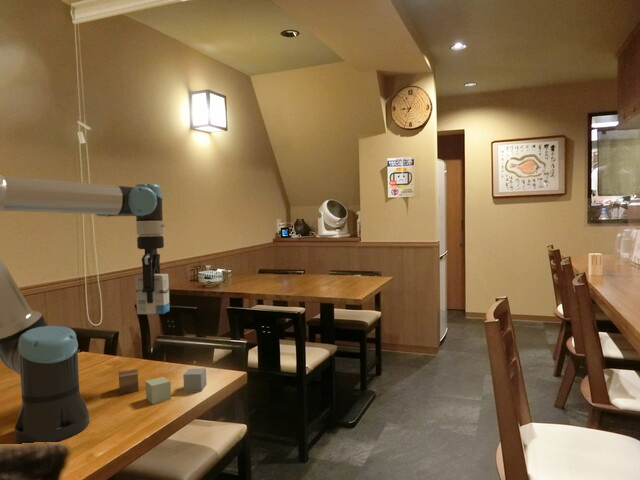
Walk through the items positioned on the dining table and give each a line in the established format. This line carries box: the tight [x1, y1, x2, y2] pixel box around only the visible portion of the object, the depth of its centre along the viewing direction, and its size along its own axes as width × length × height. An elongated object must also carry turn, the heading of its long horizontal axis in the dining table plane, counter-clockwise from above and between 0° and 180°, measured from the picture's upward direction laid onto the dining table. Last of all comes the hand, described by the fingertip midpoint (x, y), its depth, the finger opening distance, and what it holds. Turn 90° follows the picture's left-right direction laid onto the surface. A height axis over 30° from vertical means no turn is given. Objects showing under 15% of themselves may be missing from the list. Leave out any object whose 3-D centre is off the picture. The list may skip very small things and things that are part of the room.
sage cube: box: [145, 376, 172, 405], centre depth 124 cm, size 5×5×5 cm
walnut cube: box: [118, 368, 140, 395], centre depth 131 cm, size 5×5×5 cm
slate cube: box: [183, 367, 207, 393], centre depth 131 cm, size 5×5×5 cm
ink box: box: [134, 273, 171, 315], centre depth 139 cm, size 8×5×12 cm, turn 85°
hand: (153, 311), depth 139 cm, fingers closed on ink box, 6 cm apart
